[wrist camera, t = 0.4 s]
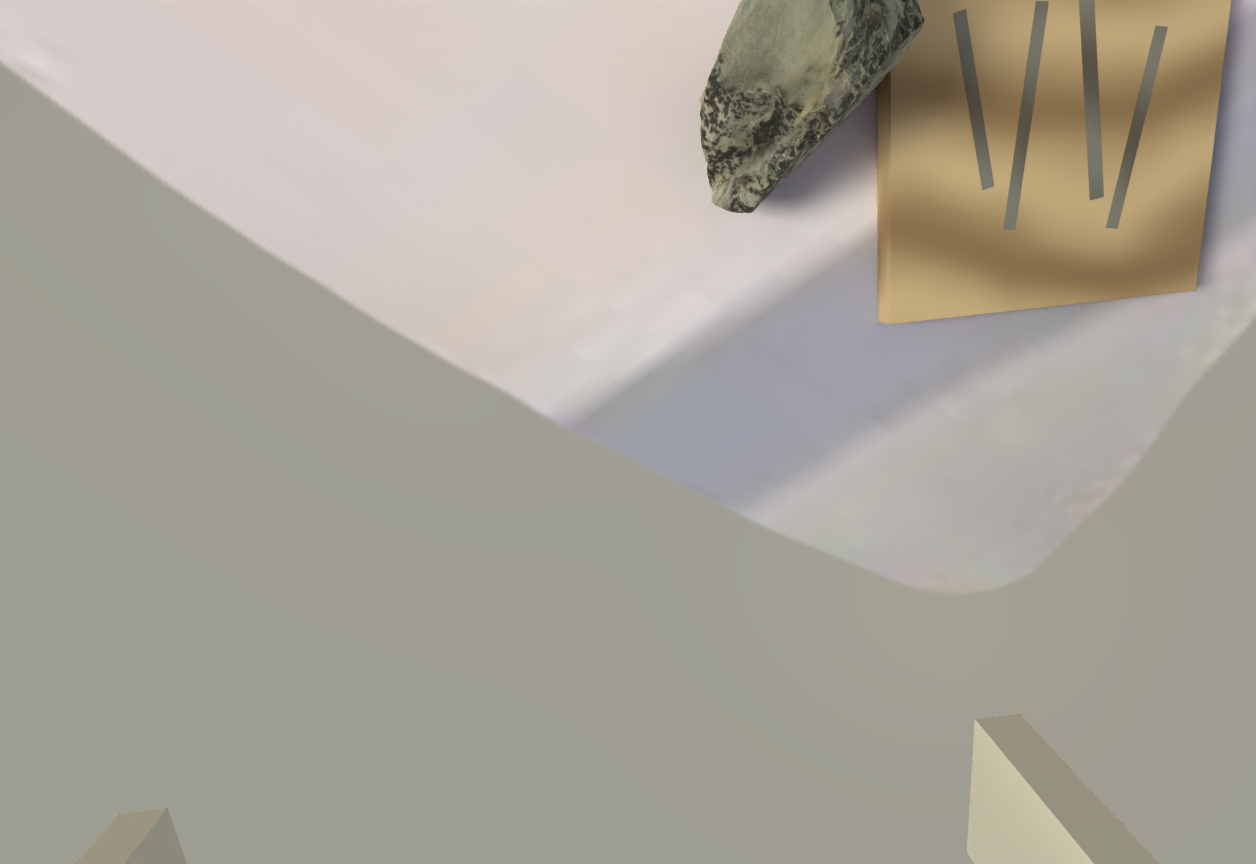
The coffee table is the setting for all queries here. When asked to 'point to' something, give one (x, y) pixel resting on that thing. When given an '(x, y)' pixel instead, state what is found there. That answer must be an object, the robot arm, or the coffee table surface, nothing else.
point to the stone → (792, 85)
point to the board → (1046, 154)
